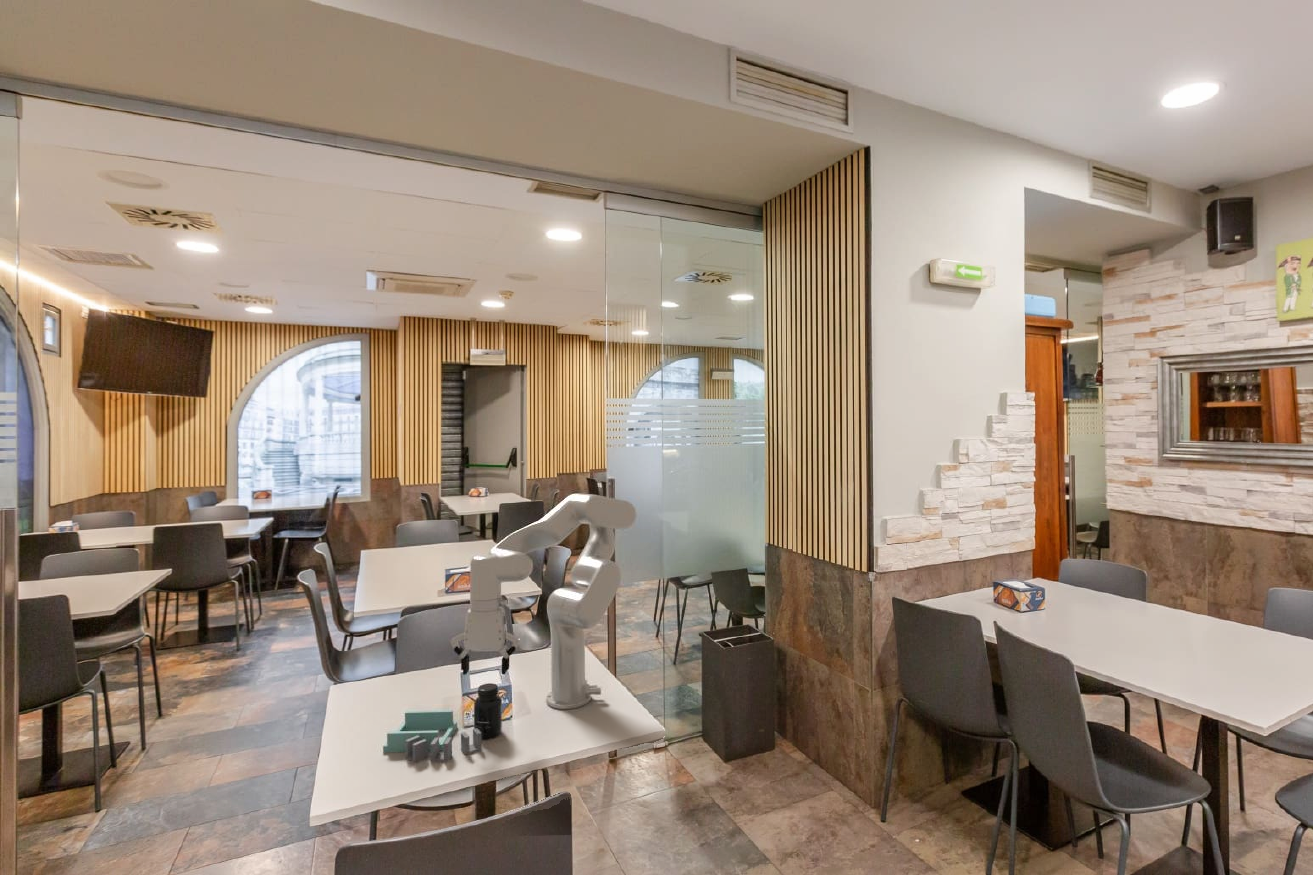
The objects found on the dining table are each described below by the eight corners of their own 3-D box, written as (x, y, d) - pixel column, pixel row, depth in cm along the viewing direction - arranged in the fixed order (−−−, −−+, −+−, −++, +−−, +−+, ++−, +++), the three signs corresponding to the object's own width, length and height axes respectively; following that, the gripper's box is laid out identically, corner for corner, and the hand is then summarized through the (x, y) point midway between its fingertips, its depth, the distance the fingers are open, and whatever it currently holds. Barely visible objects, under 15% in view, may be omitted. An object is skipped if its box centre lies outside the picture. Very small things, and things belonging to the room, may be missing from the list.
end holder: (457, 727, 160) (456, 709, 160) (442, 751, 148) (441, 732, 148) (402, 728, 160) (402, 711, 160) (383, 752, 148) (382, 733, 148)
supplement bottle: (477, 743, 151) (476, 694, 151) (471, 731, 158) (470, 684, 158) (505, 736, 155) (504, 688, 155) (498, 725, 161) (498, 679, 161)
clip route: (484, 745, 150) (484, 727, 150) (475, 762, 143) (475, 743, 143) (414, 746, 150) (413, 729, 150) (401, 763, 142) (401, 745, 142)
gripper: (522, 600, 160) (522, 667, 160) (455, 600, 159) (455, 667, 159) (516, 608, 152) (516, 678, 152) (446, 608, 152) (446, 678, 152)
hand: (485, 672), depth 156 cm, fingers open, 9 cm apart
